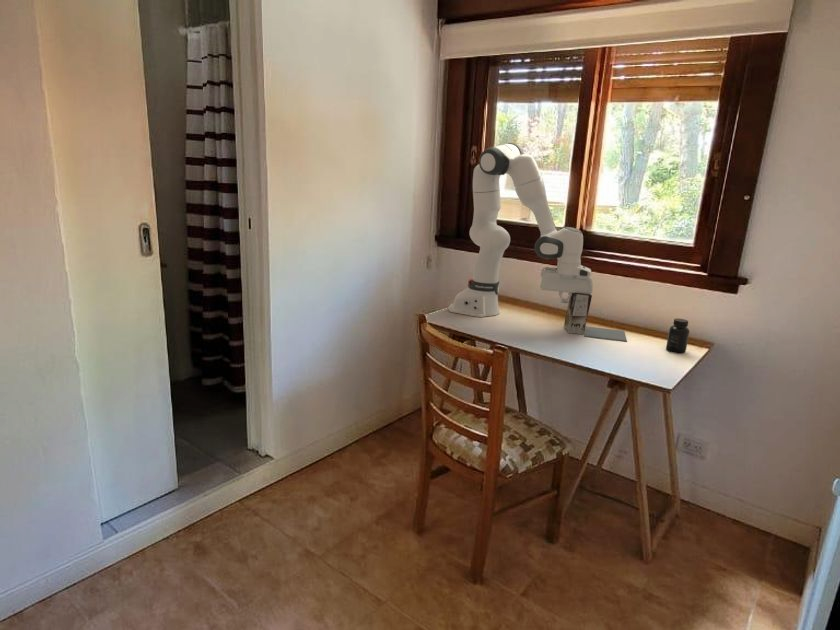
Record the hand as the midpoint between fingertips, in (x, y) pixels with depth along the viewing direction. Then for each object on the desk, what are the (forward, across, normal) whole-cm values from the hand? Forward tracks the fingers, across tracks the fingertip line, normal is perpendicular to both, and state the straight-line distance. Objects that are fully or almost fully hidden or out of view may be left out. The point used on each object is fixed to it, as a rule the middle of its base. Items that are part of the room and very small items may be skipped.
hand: (564, 302), depth 221 cm
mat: (+11, +17, 0) cm, 20 cm away
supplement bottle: (+12, +42, -10) cm, 45 cm away
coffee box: (+11, +5, 0) cm, 12 cm away
